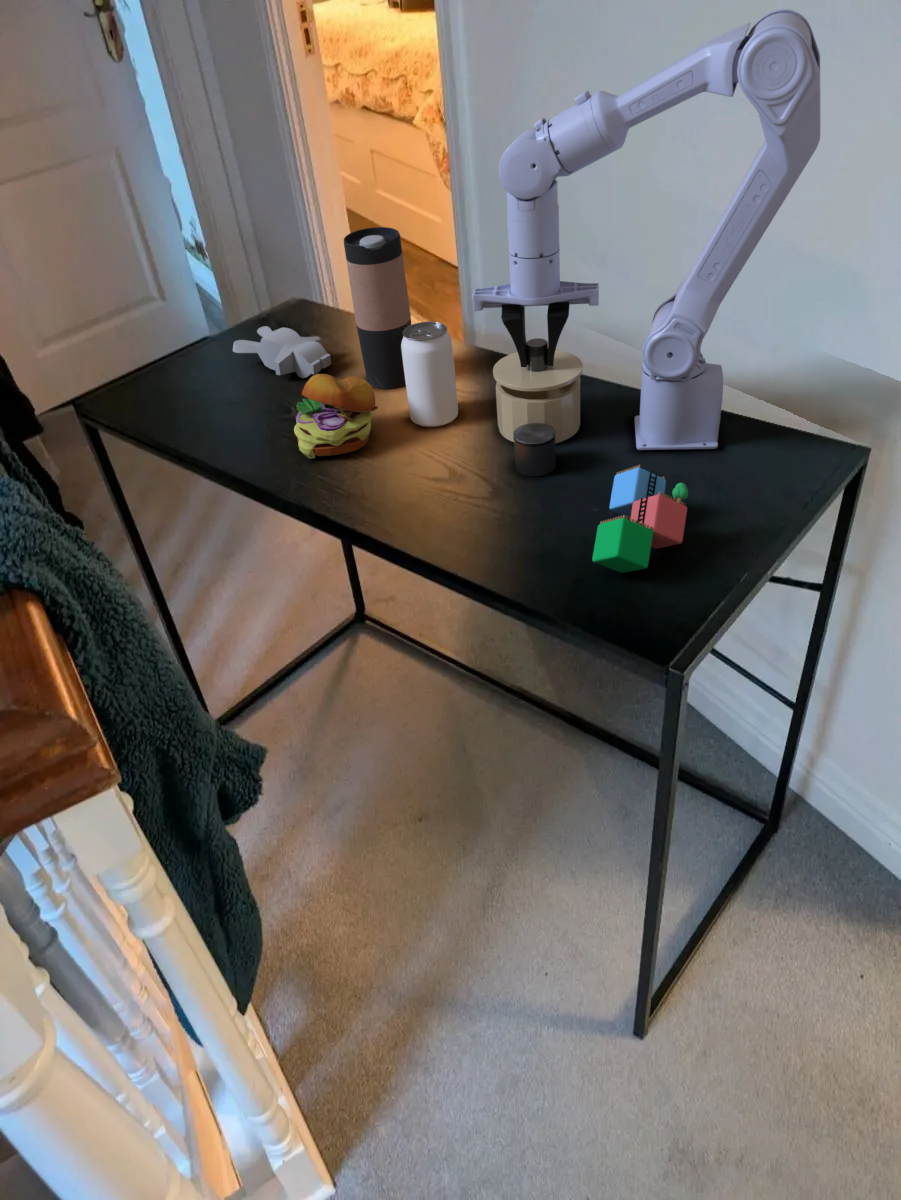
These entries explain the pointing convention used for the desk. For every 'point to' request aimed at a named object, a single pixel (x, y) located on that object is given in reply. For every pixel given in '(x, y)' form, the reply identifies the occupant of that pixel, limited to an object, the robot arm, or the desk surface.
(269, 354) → the bunny figurine
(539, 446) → the tin
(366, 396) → the cheeseburger
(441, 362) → the can
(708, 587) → the desk surface
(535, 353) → the pot lid
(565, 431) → the beige hollow cylinder
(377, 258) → the travel mug
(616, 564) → the building blocks
